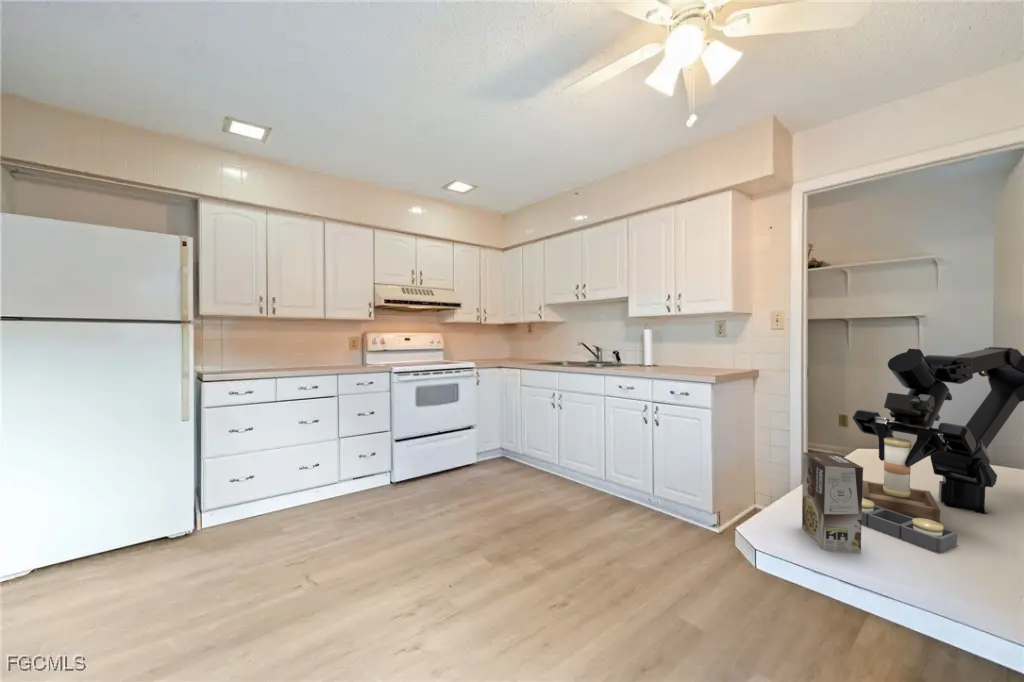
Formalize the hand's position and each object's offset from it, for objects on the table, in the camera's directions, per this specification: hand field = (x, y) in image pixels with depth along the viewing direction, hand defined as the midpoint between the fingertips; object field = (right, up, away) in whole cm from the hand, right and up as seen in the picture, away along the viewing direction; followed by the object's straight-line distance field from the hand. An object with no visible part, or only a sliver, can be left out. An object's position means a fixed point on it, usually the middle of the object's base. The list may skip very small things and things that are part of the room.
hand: (893, 462), depth 89 cm
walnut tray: (+8, -13, +8) cm, 17 cm away
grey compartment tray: (-2, -13, -2) cm, 13 cm away
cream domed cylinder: (-4, -13, +3) cm, 14 cm away
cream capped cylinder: (+1, -7, +1) cm, 7 cm away
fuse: (0, -13, -7) cm, 15 cm away
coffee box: (-17, -14, -5) cm, 23 cm away
